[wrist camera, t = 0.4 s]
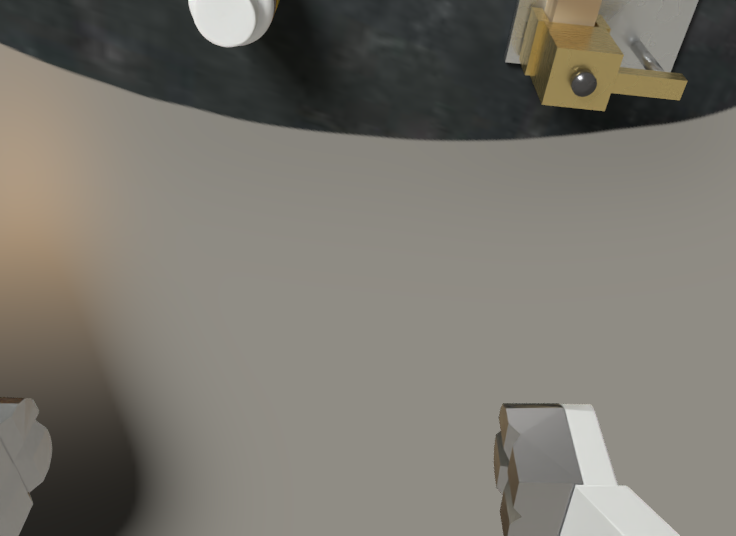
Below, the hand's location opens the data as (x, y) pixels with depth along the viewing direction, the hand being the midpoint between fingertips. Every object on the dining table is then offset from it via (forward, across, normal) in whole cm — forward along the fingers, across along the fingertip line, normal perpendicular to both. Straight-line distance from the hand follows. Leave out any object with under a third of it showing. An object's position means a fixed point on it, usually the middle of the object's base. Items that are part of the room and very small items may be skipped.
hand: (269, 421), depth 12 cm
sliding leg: (+45, -17, +9) cm, 49 cm away
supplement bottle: (+46, +8, +5) cm, 47 cm away
